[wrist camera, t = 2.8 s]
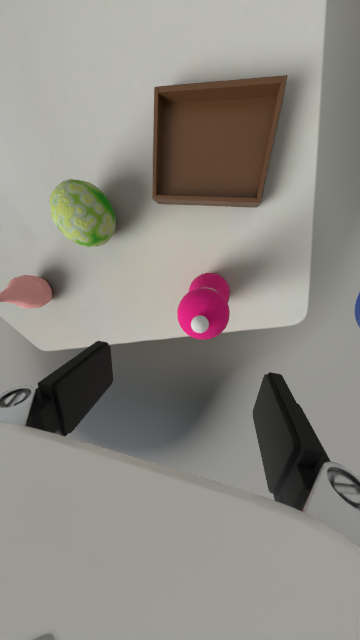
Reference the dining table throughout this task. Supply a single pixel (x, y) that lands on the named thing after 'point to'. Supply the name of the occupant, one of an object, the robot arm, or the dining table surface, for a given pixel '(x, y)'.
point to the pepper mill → (205, 307)
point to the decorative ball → (82, 213)
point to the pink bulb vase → (27, 292)
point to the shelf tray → (214, 141)
